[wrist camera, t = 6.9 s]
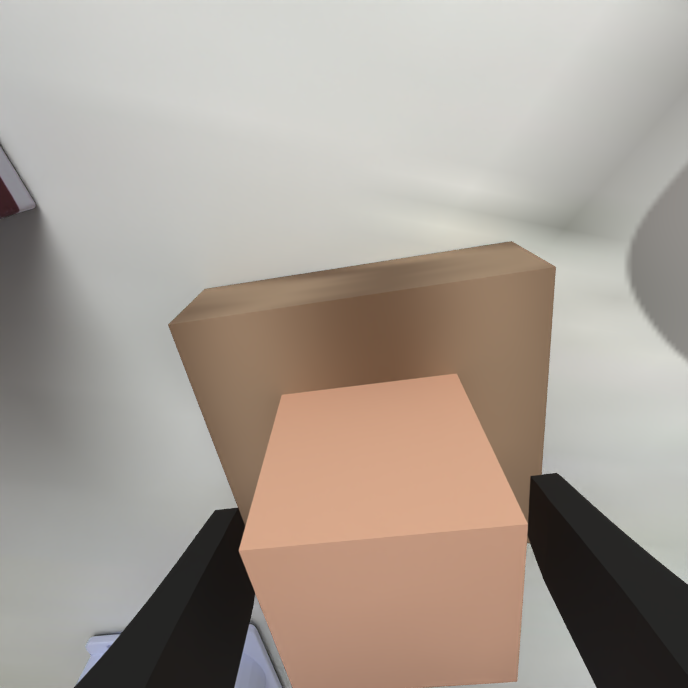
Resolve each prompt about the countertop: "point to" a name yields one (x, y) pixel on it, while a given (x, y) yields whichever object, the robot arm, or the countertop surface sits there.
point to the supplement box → (12, 190)
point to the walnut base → (376, 348)
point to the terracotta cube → (387, 540)
